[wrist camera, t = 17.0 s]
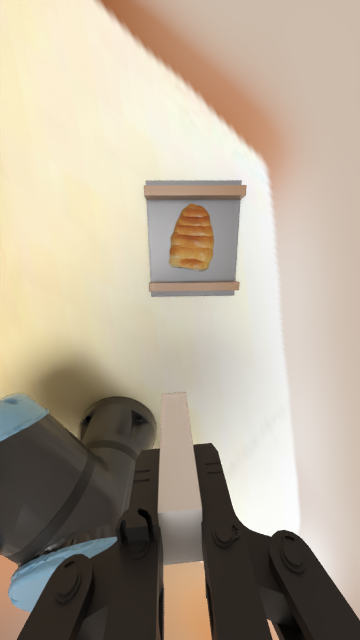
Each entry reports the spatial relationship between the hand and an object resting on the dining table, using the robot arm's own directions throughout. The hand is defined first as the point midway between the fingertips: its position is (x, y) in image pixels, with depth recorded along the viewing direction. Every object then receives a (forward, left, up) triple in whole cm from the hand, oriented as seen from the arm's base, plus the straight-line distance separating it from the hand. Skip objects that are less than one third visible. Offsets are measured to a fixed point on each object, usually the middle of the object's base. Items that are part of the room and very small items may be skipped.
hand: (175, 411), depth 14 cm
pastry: (+3, +11, -24) cm, 27 cm away
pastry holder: (+3, +12, -25) cm, 27 cm away
